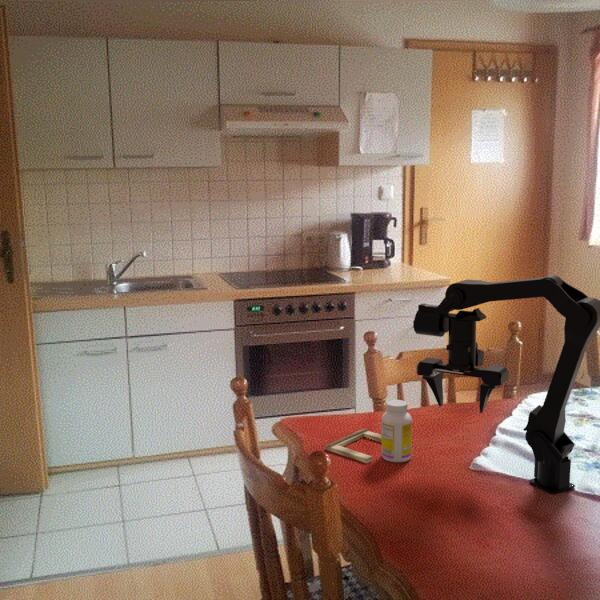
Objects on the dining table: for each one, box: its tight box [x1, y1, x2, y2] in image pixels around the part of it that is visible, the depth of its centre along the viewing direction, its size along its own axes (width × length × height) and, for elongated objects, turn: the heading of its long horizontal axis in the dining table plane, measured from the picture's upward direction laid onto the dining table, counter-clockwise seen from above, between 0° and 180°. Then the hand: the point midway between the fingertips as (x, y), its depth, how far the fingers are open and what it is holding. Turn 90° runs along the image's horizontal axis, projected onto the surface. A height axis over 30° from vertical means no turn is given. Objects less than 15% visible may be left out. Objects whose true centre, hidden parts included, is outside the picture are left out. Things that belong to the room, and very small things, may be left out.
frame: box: [324, 428, 382, 464], centre depth 167 cm, size 12×14×1 cm
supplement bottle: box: [381, 399, 413, 463], centre depth 160 cm, size 7×7×13 cm
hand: (461, 409), depth 156 cm, fingers open, 9 cm apart
